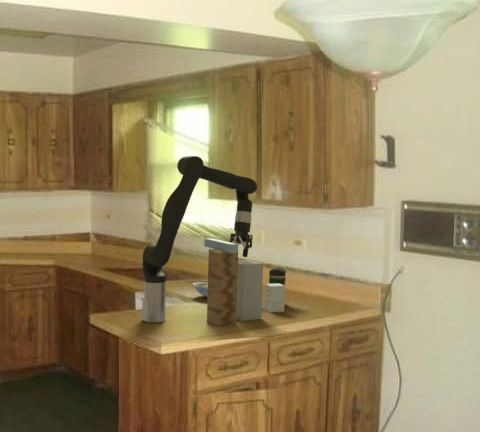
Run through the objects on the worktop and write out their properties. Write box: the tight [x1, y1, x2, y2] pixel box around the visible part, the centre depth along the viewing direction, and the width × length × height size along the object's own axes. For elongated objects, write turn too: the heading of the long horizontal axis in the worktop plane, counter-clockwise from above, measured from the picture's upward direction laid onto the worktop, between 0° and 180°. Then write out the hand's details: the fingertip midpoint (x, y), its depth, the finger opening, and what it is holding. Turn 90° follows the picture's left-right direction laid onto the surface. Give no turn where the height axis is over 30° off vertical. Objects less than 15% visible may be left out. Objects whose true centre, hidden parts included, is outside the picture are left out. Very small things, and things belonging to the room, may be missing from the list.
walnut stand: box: [206, 248, 239, 327], centre depth 316 cm, size 9×10×32 cm
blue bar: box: [203, 238, 239, 254], centre depth 317 cm, size 4×24×4 cm, turn 30°
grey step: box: [236, 259, 264, 322], centre depth 331 cm, size 10×12×25 cm
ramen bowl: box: [187, 279, 208, 299], centre depth 376 cm, size 25×23×8 cm
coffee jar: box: [268, 266, 287, 287], centre depth 362 cm, size 10×8×19 cm
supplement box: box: [264, 283, 286, 313], centre depth 348 cm, size 7×7×13 cm
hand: (239, 256), depth 339 cm, fingers open, 8 cm apart
